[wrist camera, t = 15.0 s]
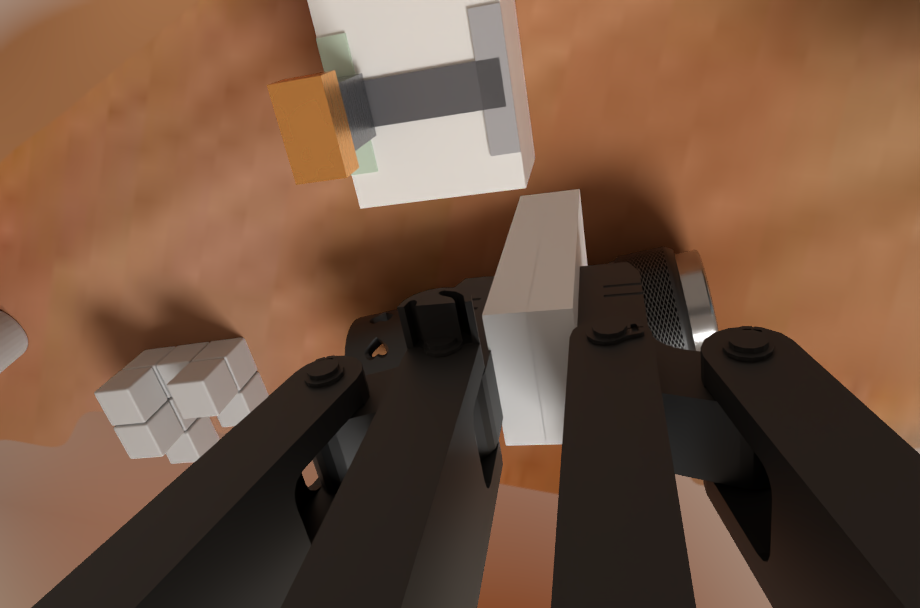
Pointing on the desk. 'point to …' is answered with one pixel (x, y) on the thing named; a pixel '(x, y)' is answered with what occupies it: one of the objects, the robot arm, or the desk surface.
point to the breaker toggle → (322, 123)
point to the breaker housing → (433, 95)
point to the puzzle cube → (181, 397)
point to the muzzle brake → (661, 271)
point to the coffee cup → (11, 340)
